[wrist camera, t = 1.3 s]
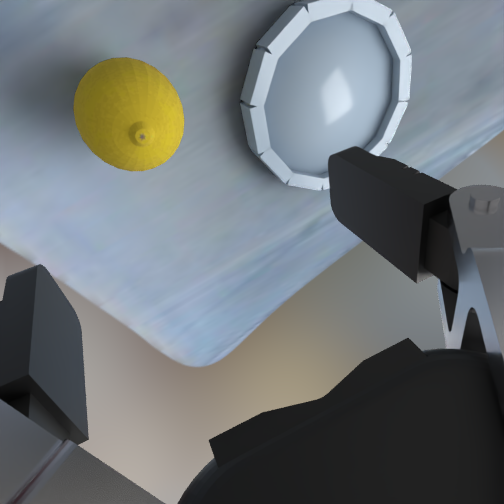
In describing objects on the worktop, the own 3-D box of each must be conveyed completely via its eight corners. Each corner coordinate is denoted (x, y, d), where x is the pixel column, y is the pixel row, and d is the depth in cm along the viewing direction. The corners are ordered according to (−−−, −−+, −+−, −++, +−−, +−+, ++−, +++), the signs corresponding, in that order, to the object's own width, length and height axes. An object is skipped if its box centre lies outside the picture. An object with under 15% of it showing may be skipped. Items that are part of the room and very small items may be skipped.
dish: (223, 22, 24) (233, 24, 22) (398, -26, 26) (417, -28, 25) (260, 202, 32) (269, 211, 30) (391, 150, 34) (405, 157, 33)
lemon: (72, 38, 21) (78, 57, 15) (171, 61, 24) (211, 85, 18) (70, 138, 24) (74, 188, 18) (160, 149, 26) (191, 197, 20)
